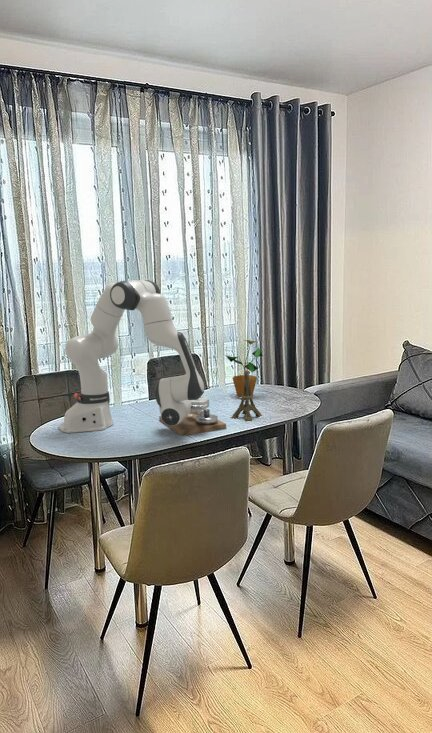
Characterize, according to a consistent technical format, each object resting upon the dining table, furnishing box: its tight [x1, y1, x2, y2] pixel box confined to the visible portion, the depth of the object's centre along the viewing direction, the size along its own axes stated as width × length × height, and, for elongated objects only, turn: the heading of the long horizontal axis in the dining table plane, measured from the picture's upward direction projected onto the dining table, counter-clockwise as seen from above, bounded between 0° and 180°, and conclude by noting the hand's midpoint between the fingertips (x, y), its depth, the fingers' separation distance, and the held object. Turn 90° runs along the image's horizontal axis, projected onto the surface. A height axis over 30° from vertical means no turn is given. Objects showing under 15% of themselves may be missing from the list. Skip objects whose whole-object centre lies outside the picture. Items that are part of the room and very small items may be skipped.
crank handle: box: [190, 408, 219, 425], centre depth 239 cm, size 20×9×12 cm, turn 42°
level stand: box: [158, 413, 227, 436], centre depth 240 cm, size 20×25×13 cm
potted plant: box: [225, 339, 264, 398], centre depth 287 cm, size 18×19×30 cm
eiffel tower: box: [230, 367, 263, 422], centre depth 249 cm, size 11×11×25 cm
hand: (188, 398), depth 240 cm, fingers closed
